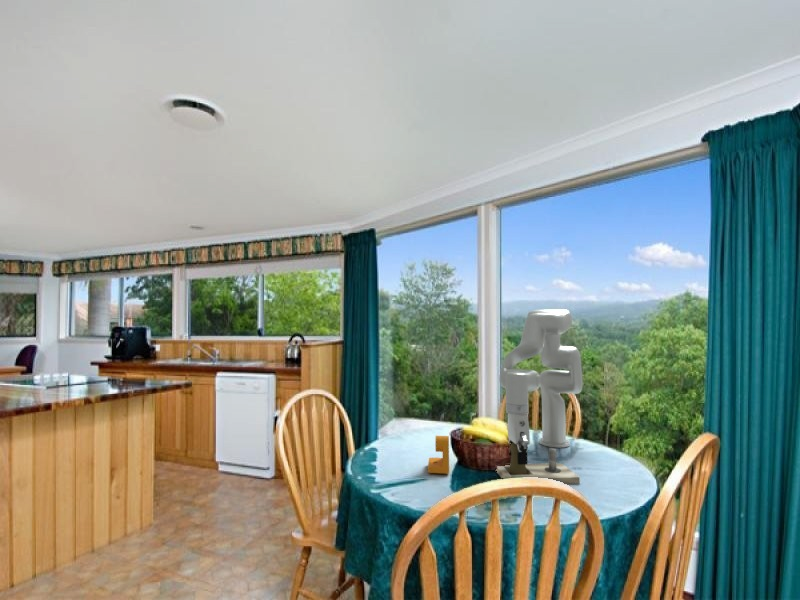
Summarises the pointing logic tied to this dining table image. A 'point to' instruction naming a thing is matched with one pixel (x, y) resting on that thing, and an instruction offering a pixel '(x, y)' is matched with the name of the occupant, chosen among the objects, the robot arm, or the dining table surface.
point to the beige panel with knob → (544, 471)
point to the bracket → (440, 463)
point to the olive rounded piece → (516, 462)
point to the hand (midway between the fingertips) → (517, 459)
